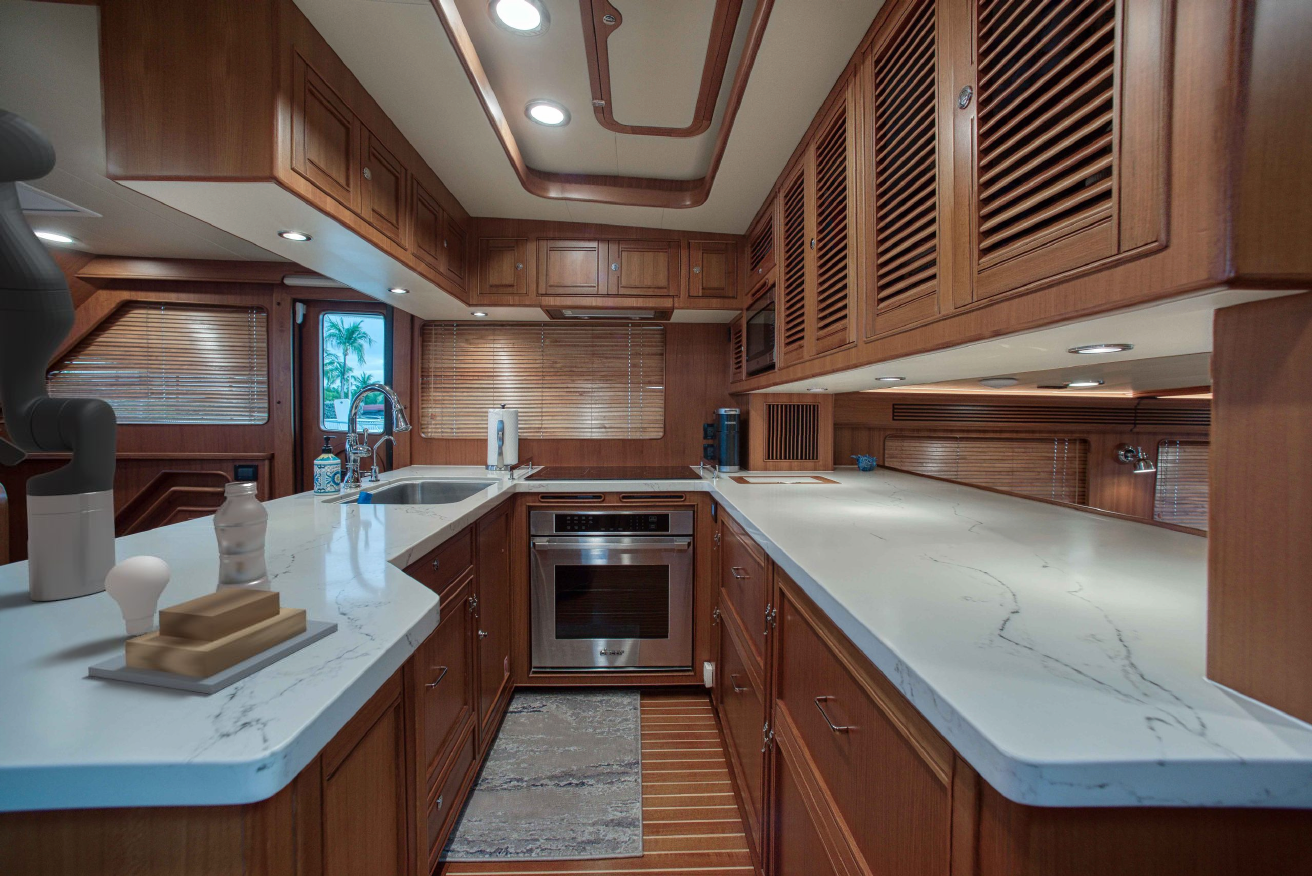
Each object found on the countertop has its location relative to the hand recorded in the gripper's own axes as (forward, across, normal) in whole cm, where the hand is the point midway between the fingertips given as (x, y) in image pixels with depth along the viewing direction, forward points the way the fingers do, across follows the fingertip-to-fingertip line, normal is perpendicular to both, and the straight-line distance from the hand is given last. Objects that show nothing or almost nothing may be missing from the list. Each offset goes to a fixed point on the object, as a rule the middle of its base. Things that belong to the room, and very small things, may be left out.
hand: (0, 463), depth 57 cm
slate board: (+33, -12, +2) cm, 35 cm away
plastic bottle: (+33, +4, +2) cm, 33 cm away
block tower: (+33, -13, +2) cm, 35 cm away
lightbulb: (+25, 0, +9) cm, 27 cm away
